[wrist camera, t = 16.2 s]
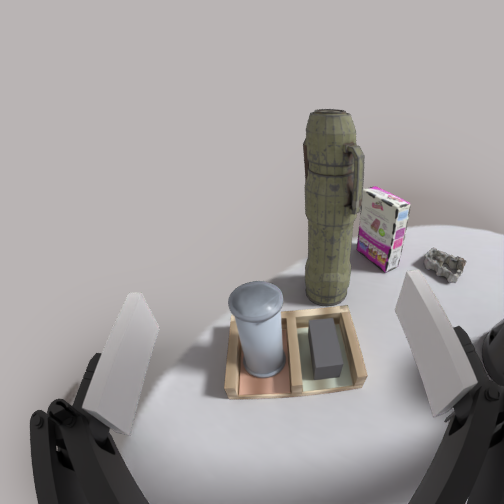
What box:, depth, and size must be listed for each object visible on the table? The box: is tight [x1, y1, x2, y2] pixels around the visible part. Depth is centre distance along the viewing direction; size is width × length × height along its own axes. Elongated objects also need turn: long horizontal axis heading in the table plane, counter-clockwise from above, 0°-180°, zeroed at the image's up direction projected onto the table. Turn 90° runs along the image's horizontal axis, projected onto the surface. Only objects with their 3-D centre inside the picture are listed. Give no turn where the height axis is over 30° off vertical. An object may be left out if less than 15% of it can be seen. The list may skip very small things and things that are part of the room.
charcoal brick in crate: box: [308, 318, 343, 380], centre depth 39 cm, size 4×9×4 cm, turn 179°
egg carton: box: [424, 247, 466, 283], centre depth 52 cm, size 11×8×4 cm
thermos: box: [303, 109, 364, 306], centre depth 44 cm, size 9×12×35 cm
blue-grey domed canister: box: [228, 281, 286, 378], centre depth 37 cm, size 7×7×14 cm
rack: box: [224, 305, 368, 399], centre depth 41 cm, size 20×14×4 cm
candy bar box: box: [357, 186, 411, 273], centre depth 56 cm, size 11×5×16 cm, turn 22°
